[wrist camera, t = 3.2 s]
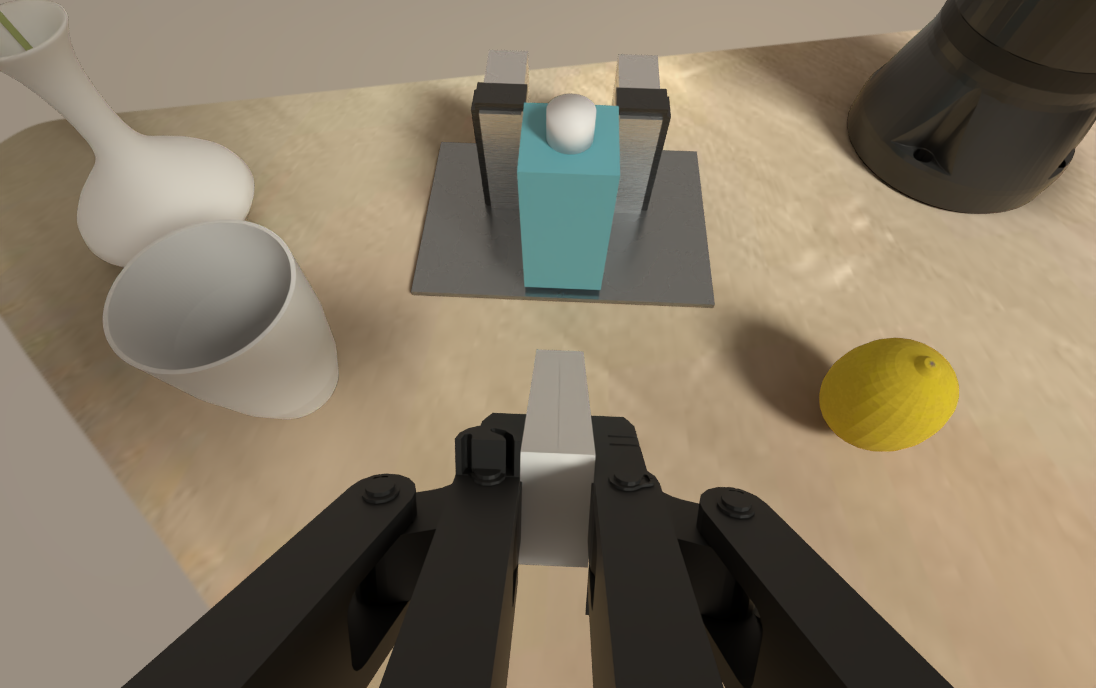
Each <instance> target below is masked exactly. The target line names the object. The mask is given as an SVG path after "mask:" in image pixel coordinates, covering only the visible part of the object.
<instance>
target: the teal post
mask: <svg viewBox="0 0 1096 688" xmlns="http://www.w3.org/2000/svg"><path fill="white" fill-rule="evenodd" d="M517 179H518V194H519V210H520V225H521V241H522V256H523V271H524V287H542V288H565V289H589V290H601V285H602V279H603V273H604V267H605V262H606V256H607V250H608V244H609V238H610V232H611V227H612V221H613V215H614V209H615V203H616V197H617V191H618V186H619V180H620V145H619V106H606V105H594V103H593V102H592V101H591V100H590V99H588V98H587V97H585V96H582V95H579V94H563V95H560V96H557V97H555V98H554V99H552V100H551V101H550V102H549V103H524V109H523V119H522V128H521V138H520V148H519V158H518V167H517Z"/></svg>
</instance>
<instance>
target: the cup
mask: <svg viewBox="0 0 1096 688" xmlns="http://www.w3.org/2000/svg"><path fill="white" fill-rule="evenodd" d="M103 328H104V333H105V336H106V339H107V341H108V343H109V345H110V347H111V348H112V349H113V351H114V352H115V353H116V354H117V355H118V356H119V357H120V358H121V359H122V360H124V361H125V362H127V363H128V364H130V365H132V366H134V367H136V368H138V369H140V370H142V371H144V372H146V373H148V374H150V375H152V376H154V377H156V378H158V379H160V380H162V381H164V382H166V383H168V384H170V385H172V386H174V387H176V388H178V389H180V390H182V391H184V392H186V393H188V394H190V395H192V396H194V397H196V398H198V399H200V400H202V401H205V402H209V403H212V404H215V405H218V406H221V407H224V408H227V409H230V410H234V411H237V412H240V413H243V414H246V415H249V416H254V417H264V418H276V419H296V418H300V417H303V416H306V415H309V414H311V413H313V412H314V411H316V410H317V409H319V408H320V407H321V406H322V405H324V404H325V403H326V402H327V400H328V399H329V398H330V397H331V395H332V394H333V392H334V390H335V388H336V385H337V382H338V375H339V372H338V360H337V349H336V343H335V340H334V338H333V335H332V332H331V330H330V327H329V324H328V322H327V319H326V316H325V314H324V311H323V308H322V305H321V303H320V301H319V299H318V297H317V296H316V294H315V292H314V291H313V289H312V287H311V285H310V284H309V282H308V280H307V279H306V277H305V275H304V273H303V272H302V270H301V268H300V267H299V265H298V263H297V261H296V260H295V258H294V256H293V255H292V253H291V251H290V249H289V248H288V246H287V245H286V244H285V242H284V241H283V240H282V239H281V238H280V237H279V236H278V235H277V234H275V233H274V232H272V231H271V230H269V229H267V228H265V227H263V226H261V225H258V224H255V223H252V222H247V221H242V220H229V219H225V220H212V221H205V222H200V223H196V224H193V225H189V226H186V227H183V228H181V229H178V230H176V231H173V232H171V233H169V234H167V235H165V236H163V237H161V238H160V239H158V240H156V241H155V242H153V243H152V244H150V245H149V246H147V247H146V248H145V249H143V250H142V251H141V252H140V253H138V254H137V255H136V256H135V257H134V258H133V259H132V260H131V261H130V262H129V263H128V264H127V265H126V266H125V267H124V269H123V270H122V271H121V272H120V274H119V275H118V276H117V278H116V279H115V281H114V283H113V285H112V286H111V288H110V290H109V293H108V295H107V298H106V301H105V305H104V310H103Z"/></svg>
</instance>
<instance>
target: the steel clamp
mask: <svg viewBox="0 0 1096 688" xmlns="http://www.w3.org/2000/svg"><path fill="white" fill-rule="evenodd" d="M524 103H530V101H529V69H528V51H507V50H489V54H488V60H487V67H486V73H485V79H484V83H481V82H478V83H477V89H476V90H474V96H473V102H472V107H471V113H472V119H473V126H474V133H475V140H476V143H454V142H441V146H440V151H439V156H438V161H437V166H436V171H435V176H434V181H433V186H432V191H431V196H430V201H429V206H428V211H427V216H426V220H425V225H424V230H423V235H422V240H421V245H420V250H419V255H418V260H417V265H416V270H415V275H414V280H413V285H412V290H411V292H412V295H426V296H449V297H472V298H496V299H519V300H542V301H565V302H589V303H612V304H635V305H658V306H681V307H705V308H713V307H714V305H715V303H714V295H713V286H712V278H711V269H710V261H709V252H708V244H707V235H706V227H705V218H704V210H703V201H702V193H701V184H700V176H699V167H698V158H697V152H694V151H667V150H663V146H664V142H665V138H666V134H667V130H668V126H669V122H670V118H671V113H670V102H669V97H667V89H660V81H659V68H658V56H652V55H622V54H621V55H620V54H618V61H617V69H616V76H615V84H614V92H613V99H612V106H619V145H620V180H619V186H618V191H617V197H616V203H615V209H614V215H613V221H612V227H611V232H610V238H609V244H608V250H607V256H606V262H605V267H604V273H603V279H602V285H601V290H589V289H565V288H542V287H524V271H523V256H522V241H521V225H520V210H519V194H518V179H517V167H518V158H519V148H520V138H521V128H522V119H523V109H524Z"/></svg>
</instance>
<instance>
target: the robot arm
mask: <svg viewBox="0 0 1096 688" xmlns="http://www.w3.org/2000/svg"><path fill="white" fill-rule="evenodd" d="M1095 121H1096V0H947V1H946V3H945V4H944V6H943V7H942V9H941V10H940V12H939V13H938V14H937V15H936V17H935V18H934V19H933V20H932V21H931V22H930V23H928V25H926V26H925V27H924V28H923V29H922V30H921V31H920V32H919V33H918V34H917V35H916V36H915V37H913V38H912V39H911V40H910V41H909V42H908V43H907V44H906V45H905V46H904V47H903V48H902V49H901V50H900V51H899V52H898V53H897V54H896V55H895V56H894V57H893V58H892V59H891V60H890V61H889V62H888V63H886V64H885V65H884V66H882V67H881V68H880V69H879V70H877V71H876V72H875V73H874V74H873V75H872V76H871V77H870V78H869V80H868V81H867V82H866V83H865V85H864V87H863V88H862V90H861V92H860V93H859V95H858V96H857V98H856V100H855V101H854V103H853V105H852V107H851V109H850V111H849V114H848V122H847V125H848V133H849V137H850V140H851V142H852V144H853V146H854V148H855V150H856V152H857V153H858V155H859V156H860V158H861V159H862V160H863V161H864V163H865V164H866V165H867V166H868V167H869V168H870V169H871V170H872V171H873V172H874V173H875V174H876V175H878V176H879V177H880V178H881V179H883V180H884V181H885V182H887V183H888V184H889V185H891V186H892V187H894V188H896V189H897V190H899V191H901V192H903V193H904V194H906V195H908V196H910V197H912V198H915V199H917V200H919V201H922V202H924V203H927V204H930V205H933V206H936V207H939V208H943V209H947V210H952V211H957V212H964V213H975V214H988V213H999V212H1005V211H1009V210H1013V209H1016V208H1018V207H1021V206H1023V205H1025V204H1027V203H1028V202H1030V201H1031V200H1033V199H1034V198H1035V197H1036V196H1038V195H1039V194H1040V193H1041V192H1042V191H1043V190H1045V189H1046V188H1047V187H1048V186H1049V185H1050V184H1052V183H1053V182H1054V181H1055V180H1056V179H1057V178H1058V177H1059V176H1060V175H1061V174H1062V173H1063V172H1064V171H1065V169H1066V168H1067V166H1068V165H1069V163H1070V162H1071V160H1072V158H1073V155H1074V153H1075V148H1076V147H1077V145H1078V144H1079V143H1080V142H1081V141H1082V139H1083V138H1084V137H1085V135H1086V134H1087V132H1088V131H1089V130H1090V128H1091V127H1092V125H1093V124H1094V122H1095ZM455 462H456V475H455V478H454V481H453V483H452V484H451V485H448V486H445V487H443V488H439V489H435V490H429V491H422V492H416V488H415V483H414V482H412V481H411V480H410V479H409V478H407V477H404V476H401V475H397V474H381V475H380V474H378V475H373V476H371V477H368V478H365V479H362V480H360V481H358V482H357V483H355V484H354V485H352V486H351V487H350V488H348V489H347V490H346V491H345V492H344V493H343V494H342V495H340V496H339V497H338V498H337V499H336V500H335V501H334V502H332V503H331V504H330V505H329V506H328V507H327V508H326V509H324V510H323V511H322V512H321V513H320V514H319V515H318V516H316V517H315V518H314V519H313V520H312V521H311V522H310V523H308V524H307V525H306V526H305V527H304V528H303V529H302V530H300V531H299V532H298V533H297V534H296V535H295V536H294V537H292V538H291V539H290V540H289V541H288V542H287V543H286V544H284V545H283V546H282V547H281V548H280V549H279V550H278V551H276V552H275V553H274V554H273V555H272V556H271V557H270V558H269V559H267V560H266V561H265V562H264V563H263V564H262V565H261V566H259V567H258V568H257V569H256V570H255V571H254V572H253V573H251V574H250V575H249V576H248V577H247V578H246V579H245V580H243V581H242V582H241V583H240V584H239V585H238V586H237V587H235V588H234V589H233V590H232V591H231V592H230V593H229V594H227V595H226V596H225V597H224V598H223V599H222V600H221V601H219V602H218V603H217V604H216V605H215V606H214V607H213V608H211V609H210V610H209V611H208V612H207V613H206V614H205V615H203V616H202V617H201V618H200V619H199V620H198V621H197V622H196V623H194V624H193V625H192V626H191V627H190V628H189V629H187V631H185V632H184V633H183V634H182V635H181V636H179V637H178V638H177V639H176V640H175V641H174V642H173V643H172V644H170V645H169V646H168V647H167V648H166V649H165V650H164V651H162V652H161V653H160V654H159V655H158V656H157V657H156V658H154V659H153V660H152V661H151V662H150V663H149V664H148V665H146V666H145V667H144V668H143V669H142V670H141V671H140V672H138V674H136V675H135V676H134V677H133V678H132V679H131V680H129V681H128V682H127V683H126V684H125V685H124V686H123V687H121V688H367V686H368V685H369V683H370V682H371V680H372V678H373V677H374V675H375V674H376V672H377V671H378V669H379V668H380V666H381V665H382V663H383V662H384V660H385V659H386V657H387V656H388V654H389V652H390V651H391V649H392V648H393V646H394V648H393V651H392V653H391V656H390V659H389V662H388V664H387V667H386V670H385V673H384V676H383V678H382V681H381V684H380V687H379V688H506V686H507V677H508V668H509V658H510V649H511V640H512V631H513V622H514V613H515V603H516V594H517V585H518V564H525V565H546V566H566V567H587V568H588V556H589V571H588V585H587V599H586V614H585V615H589V620H590V638H591V656H592V673H593V688H724V687H723V684H724V686H725V688H954V687H953V686H952V685H951V684H950V683H949V682H948V681H947V680H946V679H945V678H944V677H942V676H941V675H940V674H939V673H938V672H937V671H936V670H935V669H934V668H933V667H932V666H931V665H930V664H929V663H928V662H927V661H926V660H925V659H924V658H923V657H922V656H921V655H920V654H919V653H918V652H917V651H916V650H915V649H914V648H913V647H912V646H911V645H910V644H909V643H908V642H907V641H906V640H905V639H904V638H903V637H902V636H901V635H900V634H899V633H898V632H897V631H896V630H895V629H894V628H893V627H892V626H891V625H890V624H889V623H888V622H887V621H885V620H884V619H883V618H882V617H881V616H880V615H879V614H878V613H877V612H876V611H875V610H874V609H873V608H872V607H871V606H870V605H869V604H868V603H867V602H866V601H865V600H864V599H863V598H862V597H861V596H860V595H859V594H858V593H857V592H856V591H855V590H854V589H853V588H852V587H851V586H850V585H849V584H848V583H847V582H846V581H845V580H844V579H843V578H842V577H841V576H840V575H839V574H838V573H837V572H836V571H835V570H834V569H833V568H832V567H831V566H829V565H828V564H827V563H826V562H825V561H824V560H823V559H822V558H821V557H820V556H819V555H818V554H817V553H816V552H815V551H814V550H813V549H812V548H811V547H810V546H809V545H808V544H807V543H806V542H805V541H804V540H803V539H802V538H801V537H800V536H799V535H798V534H797V533H796V532H795V531H794V530H793V529H792V528H791V527H790V526H789V525H788V524H787V523H786V522H785V521H784V520H783V519H782V518H781V517H780V516H779V515H778V514H777V513H776V512H775V511H774V510H772V509H771V508H770V507H769V506H768V505H767V504H766V503H765V502H764V501H762V500H761V499H760V498H758V497H757V496H755V495H753V494H751V493H748V492H746V491H744V490H741V489H735V488H731V487H716V488H712V489H708V490H706V491H705V492H704V493H703V494H701V497H700V502H699V504H698V503H694V502H690V501H685V500H681V499H678V498H675V497H672V496H670V495H668V494H666V493H664V492H662V489H661V486H660V483H659V482H658V480H657V479H656V477H655V476H654V475H652V474H651V473H649V472H648V471H647V469H646V466H645V462H644V459H643V455H642V452H641V448H640V447H639V441H638V438H637V434H636V431H635V427H634V426H633V425H632V424H631V423H630V422H629V421H628V420H626V419H625V418H624V417H608V416H591V412H590V404H589V395H588V387H587V378H586V370H585V361H584V353H583V351H562V350H538V349H537V350H536V357H535V363H534V369H533V376H532V382H531V389H530V395H529V401H528V408H527V414H506V413H492V414H491V415H489V416H488V417H487V418H486V419H484V420H483V421H482V423H481V426H476V427H472V428H468V429H466V430H464V431H462V432H460V433H459V434H458V436H457V437H456V438H455ZM722 683H723V684H722Z"/></svg>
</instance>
